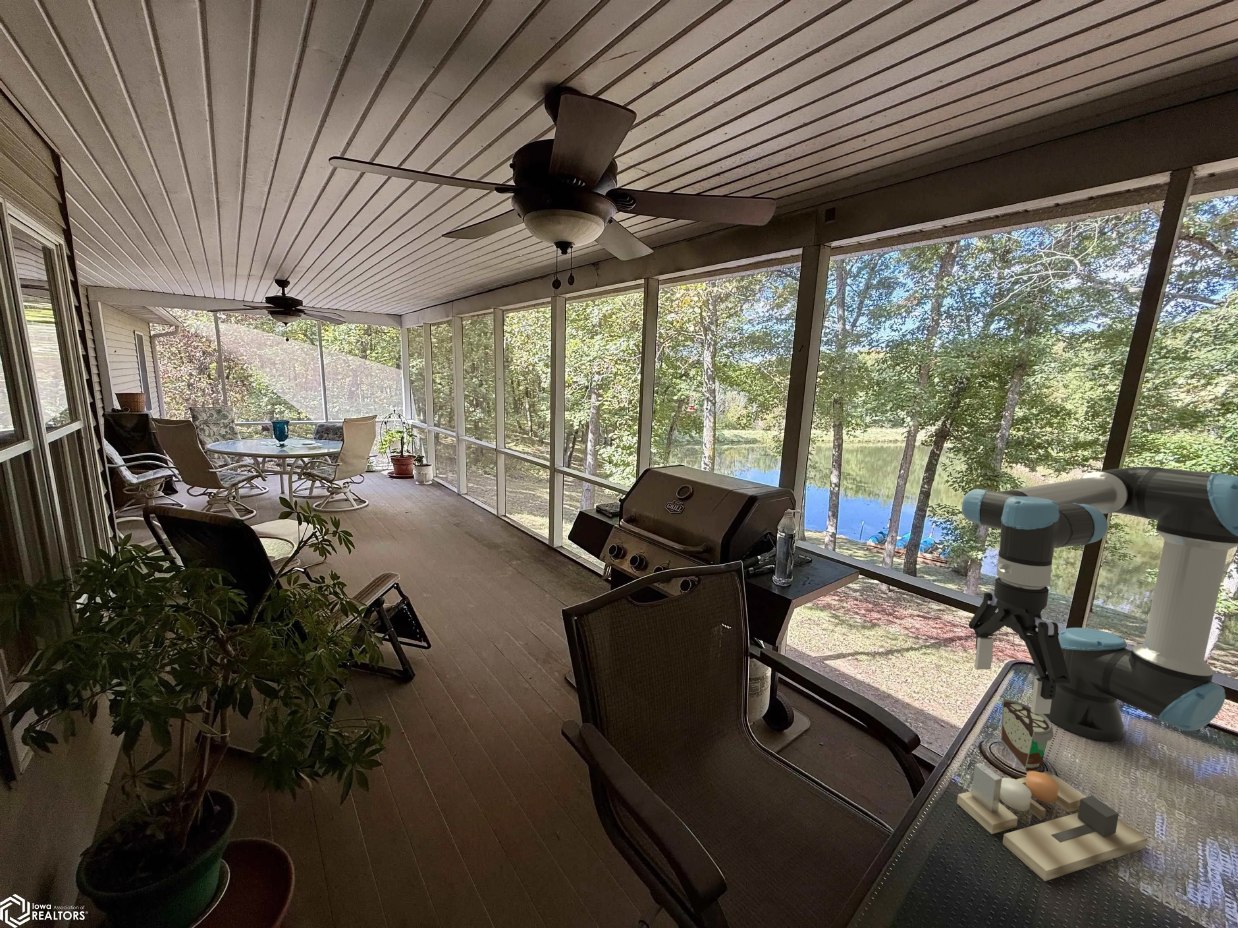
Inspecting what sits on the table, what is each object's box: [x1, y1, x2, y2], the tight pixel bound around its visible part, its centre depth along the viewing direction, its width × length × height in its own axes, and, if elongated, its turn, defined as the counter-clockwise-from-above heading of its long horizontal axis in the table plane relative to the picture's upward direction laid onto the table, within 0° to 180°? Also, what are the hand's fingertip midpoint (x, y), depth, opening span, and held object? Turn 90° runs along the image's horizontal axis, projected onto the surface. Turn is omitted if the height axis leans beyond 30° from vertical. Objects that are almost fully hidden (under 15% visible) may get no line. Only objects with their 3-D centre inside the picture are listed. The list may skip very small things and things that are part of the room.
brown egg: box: [1025, 770, 1059, 804], centre depth 95 cm, size 5×5×3 cm
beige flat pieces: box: [956, 770, 1148, 882], centre depth 91 cm, size 24×16×2 cm, turn 104°
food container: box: [1000, 698, 1054, 771], centre depth 107 cm, size 12×6×10 cm, turn 168°
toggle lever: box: [971, 762, 1003, 813], centre depth 93 cm, size 2×4×7 cm, turn 14°
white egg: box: [999, 777, 1032, 812], centre depth 94 cm, size 5×5×3 cm
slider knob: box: [1077, 795, 1119, 837], centre depth 88 cm, size 3×4×4 cm
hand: (1009, 688), depth 91 cm, fingers open, 13 cm apart
